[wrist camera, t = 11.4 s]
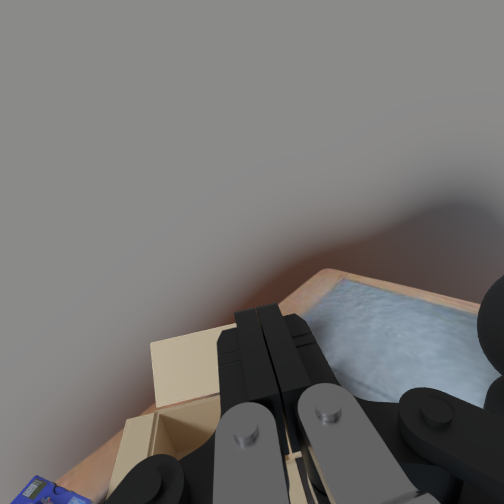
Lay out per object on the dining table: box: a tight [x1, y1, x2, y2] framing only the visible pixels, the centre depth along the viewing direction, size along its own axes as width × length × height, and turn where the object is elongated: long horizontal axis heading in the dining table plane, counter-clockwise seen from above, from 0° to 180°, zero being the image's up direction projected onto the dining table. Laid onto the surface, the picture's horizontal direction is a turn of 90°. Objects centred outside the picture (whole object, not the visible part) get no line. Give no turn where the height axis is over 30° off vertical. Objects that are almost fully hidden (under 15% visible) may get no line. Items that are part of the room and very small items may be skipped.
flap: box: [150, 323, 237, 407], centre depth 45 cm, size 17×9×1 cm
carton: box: [106, 395, 307, 504], centre depth 36 cm, size 26×21×10 cm
